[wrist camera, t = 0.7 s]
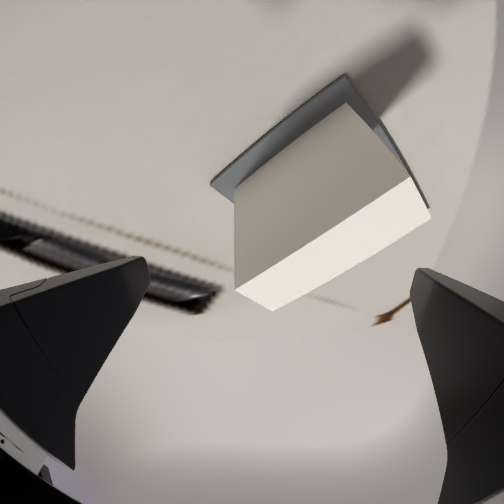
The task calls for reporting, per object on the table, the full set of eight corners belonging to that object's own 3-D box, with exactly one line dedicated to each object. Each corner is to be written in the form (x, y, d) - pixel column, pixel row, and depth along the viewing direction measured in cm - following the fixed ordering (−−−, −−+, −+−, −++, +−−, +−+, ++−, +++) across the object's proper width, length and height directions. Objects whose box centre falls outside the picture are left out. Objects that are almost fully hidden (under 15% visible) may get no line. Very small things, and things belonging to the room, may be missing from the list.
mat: (210, 182, 22) (209, 185, 21) (342, 75, 16) (345, 76, 16) (324, 273, 30) (325, 276, 30) (427, 210, 24) (429, 212, 24)
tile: (234, 188, 22) (234, 290, 15) (345, 102, 17) (410, 176, 11) (262, 211, 23) (273, 311, 17) (369, 134, 19) (431, 218, 12)
